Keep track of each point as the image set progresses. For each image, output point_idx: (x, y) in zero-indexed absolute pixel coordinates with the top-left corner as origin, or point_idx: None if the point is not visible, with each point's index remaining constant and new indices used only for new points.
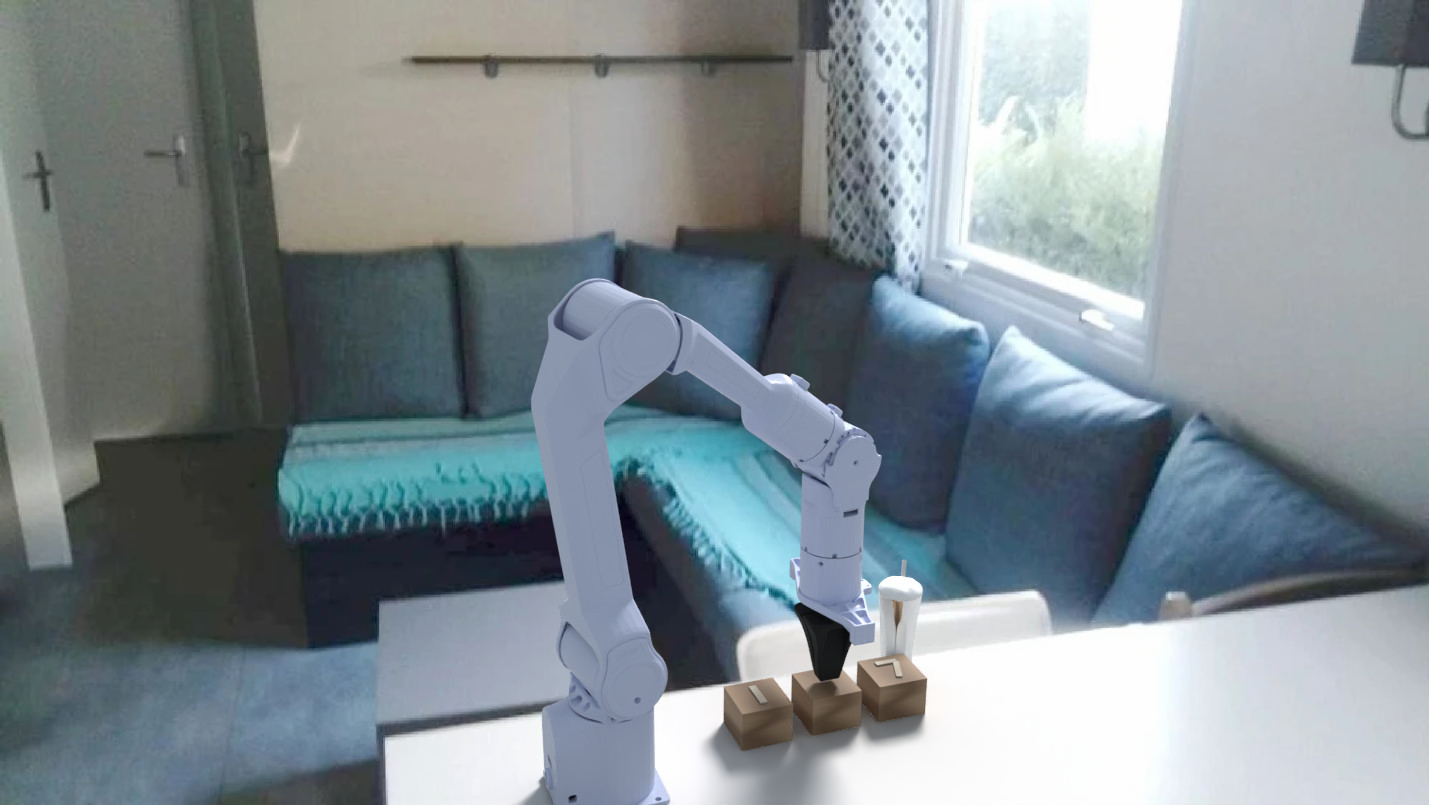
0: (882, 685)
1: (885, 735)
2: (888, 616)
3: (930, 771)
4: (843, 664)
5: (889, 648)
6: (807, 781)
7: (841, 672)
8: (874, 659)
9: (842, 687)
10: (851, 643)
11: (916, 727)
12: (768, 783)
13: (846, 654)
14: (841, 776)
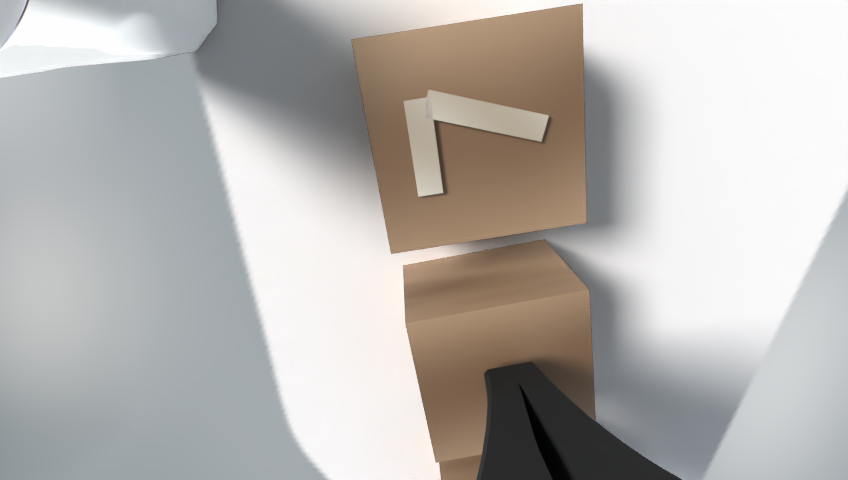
0: (580, 211)
1: (602, 185)
2: (93, 45)
3: (792, 116)
4: (558, 388)
5: (178, 38)
6: (704, 397)
7: (457, 325)
8: (387, 185)
9: (550, 343)
10: (646, 458)
11: (593, 80)
12: (681, 461)
13: (592, 419)
14: (717, 330)
